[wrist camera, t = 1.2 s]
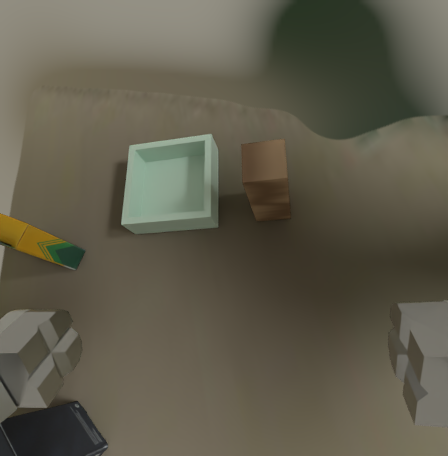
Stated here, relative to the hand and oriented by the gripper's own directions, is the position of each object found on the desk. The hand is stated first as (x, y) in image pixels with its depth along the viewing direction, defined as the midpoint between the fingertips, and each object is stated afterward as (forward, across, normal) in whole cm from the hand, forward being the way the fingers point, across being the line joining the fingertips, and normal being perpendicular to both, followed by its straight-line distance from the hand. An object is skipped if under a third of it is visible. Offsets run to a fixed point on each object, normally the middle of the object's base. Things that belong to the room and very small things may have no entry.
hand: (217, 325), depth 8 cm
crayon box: (+28, +28, +12) cm, 41 cm away
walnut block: (+30, 0, +9) cm, 31 cm away
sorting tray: (+32, +12, +7) cm, 35 cm away
